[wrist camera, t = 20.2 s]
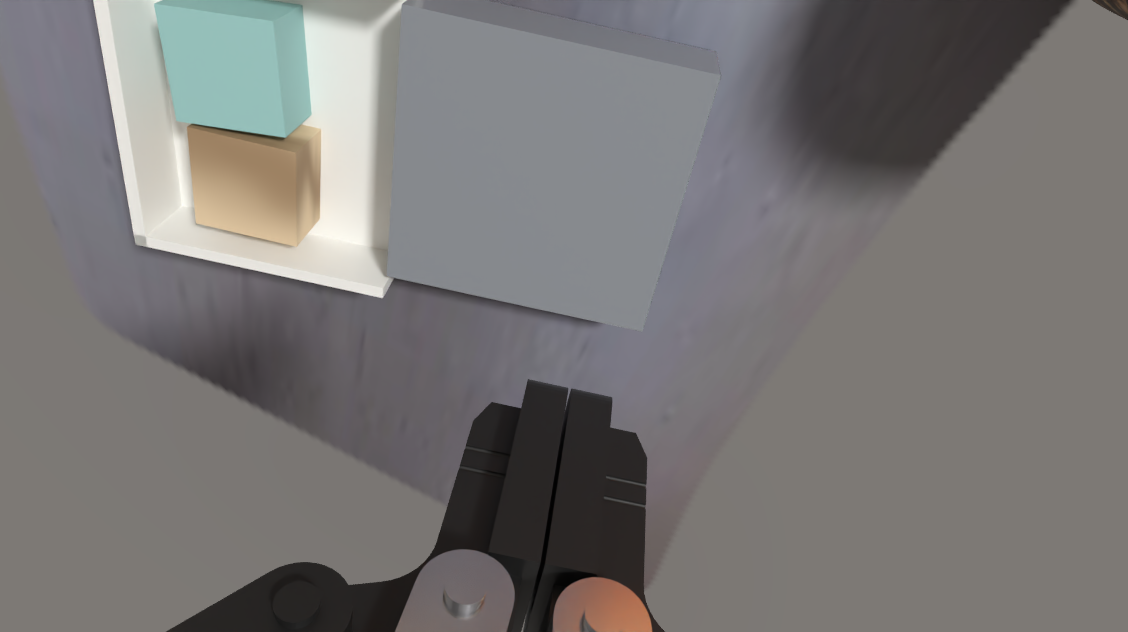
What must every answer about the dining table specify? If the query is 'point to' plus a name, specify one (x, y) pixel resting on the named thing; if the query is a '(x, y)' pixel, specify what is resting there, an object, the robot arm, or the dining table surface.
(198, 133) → the thick tan wooden block
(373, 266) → the tray
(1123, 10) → the jar
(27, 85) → the dining table surface
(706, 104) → the board
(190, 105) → the seafoam green cuboid
